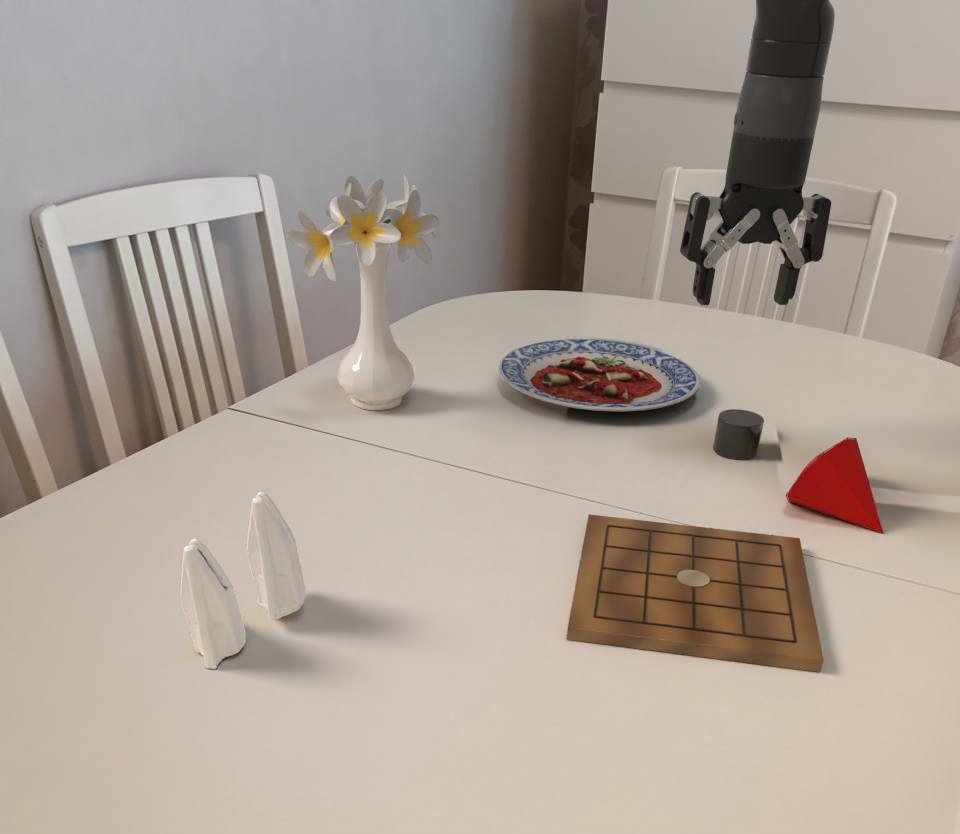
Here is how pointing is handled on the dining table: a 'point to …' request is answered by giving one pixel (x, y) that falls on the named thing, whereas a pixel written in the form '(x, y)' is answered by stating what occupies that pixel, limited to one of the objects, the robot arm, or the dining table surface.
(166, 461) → the dining table surface
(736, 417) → the dark grey cylinder
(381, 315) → the flower vase
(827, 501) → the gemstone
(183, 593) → the shaker set
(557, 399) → the ceramic plate
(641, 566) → the board
